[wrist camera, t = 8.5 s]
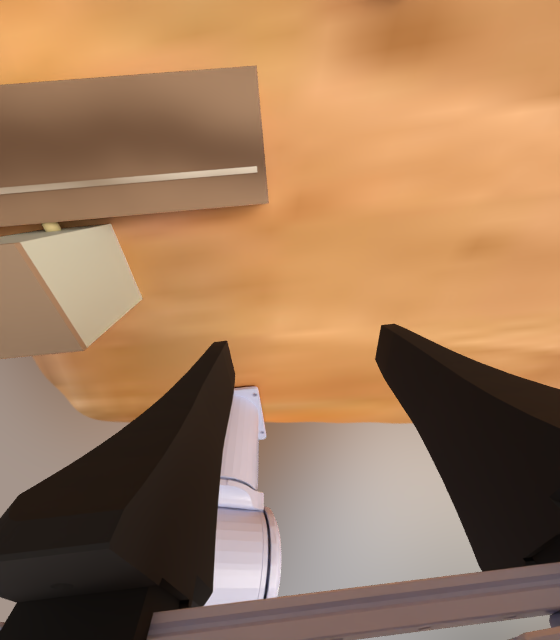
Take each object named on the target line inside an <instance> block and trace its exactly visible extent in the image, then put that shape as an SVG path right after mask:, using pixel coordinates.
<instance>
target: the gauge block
mask: <svg viewBox="0 0 560 640" xmlns="http://www.w3.org/2000/svg"><path fill="white" fill-rule="evenodd" d="M41 224H42V226H43V228H44V230H38V231H32V232H26V233H20V234H14V235H8V236H2V237H0V359H6V358H16V357H25V356H36V355H46V354H56V353H66V352H77V351H84V350H85V349H86V348H87V347H89V346H90V345H91V344H92V343H93V342H94V341H95V340H96V339H98V338H99V337H100V336H101V335H102V334H103V333H104V332H106V331H107V330H108V329H109V328H110V327H111V326H112V325H113V324H115V323H116V322H117V321H118V320H119V319H120V318H121V317H123V316H124V315H125V314H126V313H127V312H128V311H129V310H131V309H132V308H133V307H134V306H135V305H136V304H137V303H138V302H140V301H141V300H142V299H143V298H142V296H141V294H140V291H139V289H138V287H137V284H136V282H135V279H134V277H133V275H132V272H131V270H130V268H129V265H128V263H127V261H126V258H125V256H124V254H123V251H122V249H121V246H120V244H119V242H118V239H117V237H116V235H115V232H114V230H113V228H112V225H111V224H103V225H91V226H80V227H69V228H61V227H60V226H59V224H58V222H50V223H41Z"/></svg>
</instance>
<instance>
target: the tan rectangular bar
mask: <svg viewBox="0 0 560 640" xmlns="http://www.w3.org/2000/svg"><path fill="white" fill-rule="evenodd" d="M267 203H269V201H268V189H267V178H266V167H265V156H264V144H263V133H262V122H261V111H260V99H259V88H258V77H257V66H245V67H232V68H219V69H205V70H192V71H179V72H165V73H152V74H139V75H125V76H112V77H99V78H85V79H72V80H59V81H45V82H32V83H19V84H5V85H0V227H5V226H16V225H28V224H39V223H50V222H62V221H73V220H85V219H96V218H107V217H119V216H130V215H142V214H153V213H164V212H176V211H187V210H199V209H210V208H221V207H233V206H244V205H255V204H267Z"/></svg>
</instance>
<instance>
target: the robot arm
mask: <svg viewBox="0 0 560 640" xmlns="http://www.w3.org/2000/svg"><path fill="white" fill-rule="evenodd" d="M375 360H376V362H377V364H378V367H379V369H380V371H381V373H382V375H383V377H384V379H385V380H386V382H387V384H388V385H389V387H390V388H391V390H392V391H393V393H394V395H395V396H396V398H397V399H398V401H399V402H400V404H401V405H402V407H403V408H404V410H405V411H406V413H407V414H408V416H409V417H410V419H411V420H412V422H413V424H414V425H415V427H416V429H417V431H418V432H419V434H420V436H421V438H422V440H423V442H424V444H425V446H426V448H427V450H428V451H429V453H430V455H431V457H432V460H433V461H434V463H435V466H436V467H437V470H438V472H439V474H440V476H441V478H442V480H443V482H444V484H445V486H446V489H447V491H448V493H449V495H450V498H451V500H452V502H453V504H454V506H455V509H456V511H457V513H458V516H459V518H460V520H461V523H462V525H463V527H464V529H465V532H466V535H467V537H468V539H469V542H470V544H471V547H472V549H473V552H474V554H475V557H476V559H477V562H478V564H479V566H480V568H481V570H482V572H476V573H468V574H460V575H451V576H443V577H436V578H428V579H420V580H411V581H404V582H395V583H387V584H379V585H371V586H363V587H355V588H348V589H339V590H331V591H323V592H316V593H307V594H299V595H291V596H283V597H277V596H278V591H279V585H280V575H281V540H280V533H279V528H278V524H277V522H276V519H275V518H274V515H273V513H272V511H271V510H270V508H268V507H264V493H262V492H258V491H257V488H258V448H259V443H258V442H259V440H260V439H265V438H266V430H265V424H264V419H263V413H262V407H261V402H260V396H259V390H258V388H257V387H255V386H251V387H242V388H234V384H235V371H234V367H233V363H232V359H231V355H230V351H229V347H228V343H227V341H221V342H214V343H213V344H212V345H211V346H210V347H209V348H208V349H207V351H206V352H205V353H204V354H203V355H202V356H201V358H200V359H199V360H198V361H197V362H196V363H195V364H194V365H193V367H192V368H191V369H190V370H189V371H188V372H187V373H186V374H185V375H184V376H183V377H182V378H181V379H180V380H179V381H178V382H177V383H176V384H175V385H174V386H173V387H172V388H171V389H170V390H169V391H168V392H167V393H166V394H165V395H164V396H163V397H162V398H160V399H159V400H158V401H157V402H156V403H155V404H153V405H152V406H151V407H150V408H149V409H148V410H146V411H145V412H144V413H143V414H141V415H140V416H139V417H137V418H136V419H135V420H133V421H132V422H131V423H130V424H128V425H127V426H126V427H124V428H123V429H122V430H120V431H119V432H118V433H116V434H115V435H113V436H112V437H111V438H109V439H108V440H106V441H105V442H103V443H102V444H101V445H99V446H98V447H96V448H95V449H93V450H92V451H90V452H89V453H87V454H85V455H84V456H83V457H81V458H79V459H78V460H76V461H75V462H73V463H72V464H70V465H69V466H67V467H65V468H63V469H62V470H60V471H58V472H57V473H55V474H53V475H52V476H50V477H48V478H47V479H45V480H43V481H42V482H40V483H38V484H37V485H35V486H33V487H32V488H30V489H28V490H27V491H25V492H23V493H21V494H20V495H19V496H18V497H17V498H16V499H15V501H14V502H13V503H12V504H11V506H10V507H9V508H8V509H7V511H6V512H5V513H4V514H3V515H2V517H1V518H0V597H2V598H5V599H8V600H11V601H14V602H17V604H16V605H15V607H14V609H13V611H12V612H11V614H10V616H9V617H8V619H7V620H6V622H5V623H4V622H0V640H357V639H364V638H372V637H380V636H388V635H395V634H402V633H411V632H418V631H426V630H434V629H442V628H450V627H457V626H465V625H473V624H480V623H489V622H496V621H504V620H511V619H520V618H527V617H535V616H543V615H550V620H549V621H550V625H551V628H549V629H543V630H537V631H532V632H526V633H523V634H521V635H519V636H518V637H515V638H512V639H509V640H560V389H557V388H553V387H550V386H547V385H543V384H540V383H537V382H534V381H531V380H527V379H524V378H521V377H518V376H515V375H512V374H509V373H506V372H504V371H501V370H498V369H496V368H493V367H490V366H487V365H485V364H482V363H480V362H477V361H475V360H472V359H470V358H468V357H465V356H463V355H461V354H458V353H456V352H454V351H451V350H449V349H447V348H445V347H443V346H441V345H439V344H436V343H434V342H432V341H430V340H428V339H426V338H424V337H422V336H420V335H418V334H416V333H414V332H412V331H410V330H407V329H405V328H403V327H401V326H399V325H396V324H388V325H381V330H380V335H379V341H378V346H377V352H376V358H375ZM253 393H255V394H253ZM551 614H552V615H551Z"/></svg>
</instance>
